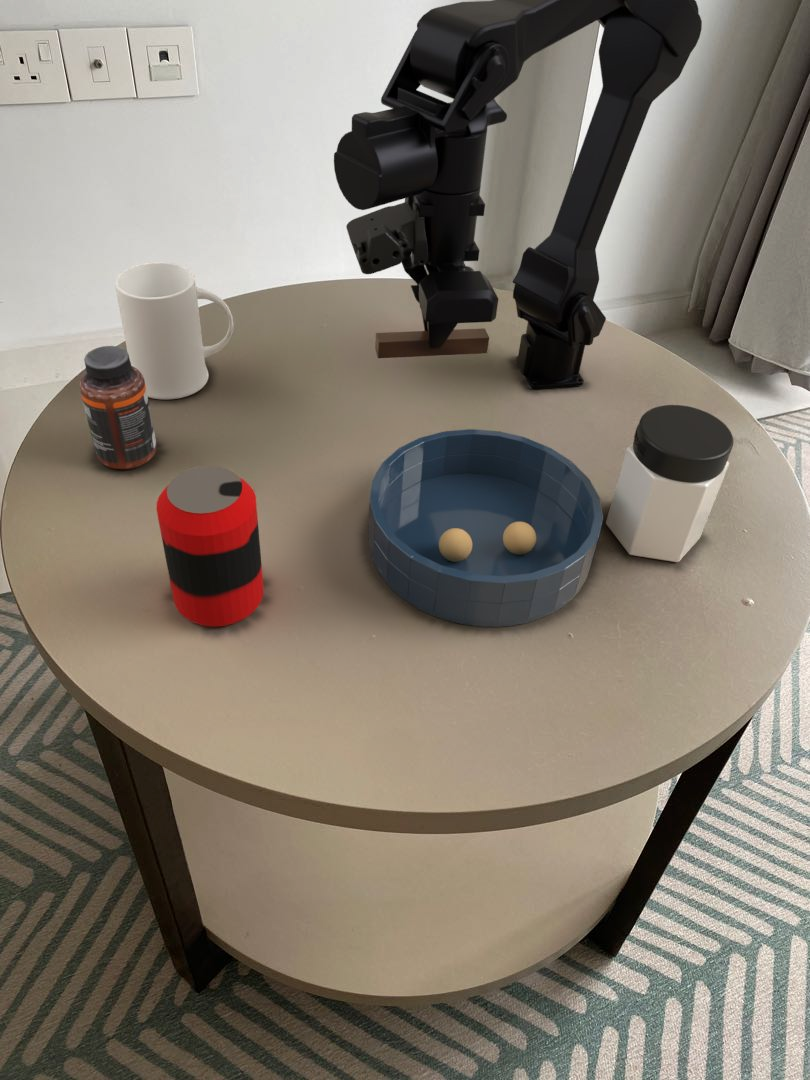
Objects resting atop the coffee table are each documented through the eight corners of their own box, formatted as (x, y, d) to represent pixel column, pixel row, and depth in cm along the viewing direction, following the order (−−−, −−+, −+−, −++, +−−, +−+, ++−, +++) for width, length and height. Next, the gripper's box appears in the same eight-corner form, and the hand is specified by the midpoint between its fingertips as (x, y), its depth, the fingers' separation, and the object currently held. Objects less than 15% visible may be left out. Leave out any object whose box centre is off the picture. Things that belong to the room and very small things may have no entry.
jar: (637, 490, 88) (668, 390, 80) (711, 528, 84) (751, 428, 76) (591, 534, 83) (619, 433, 75) (667, 577, 79) (706, 474, 71)
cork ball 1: (465, 543, 80) (469, 519, 78) (474, 566, 78) (477, 542, 76) (434, 547, 80) (436, 523, 77) (441, 570, 77) (444, 546, 75)
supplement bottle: (168, 444, 89) (152, 347, 82) (137, 478, 85) (117, 380, 77) (117, 430, 91) (97, 334, 83) (84, 463, 86) (59, 365, 79)
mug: (240, 358, 102) (231, 261, 93) (235, 400, 96) (226, 300, 87) (136, 358, 101) (119, 259, 92) (125, 400, 94) (105, 299, 86)
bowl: (548, 465, 90) (557, 421, 86) (624, 611, 76) (639, 567, 72) (352, 482, 86) (352, 438, 83) (392, 641, 72) (395, 595, 68)
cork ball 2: (527, 537, 81) (532, 513, 79) (537, 559, 79) (543, 535, 77) (496, 540, 81) (501, 516, 79) (506, 563, 79) (510, 539, 76)
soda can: (262, 628, 72) (252, 521, 64) (169, 630, 71) (147, 522, 63) (265, 563, 78) (257, 457, 69) (179, 565, 77) (160, 458, 69)
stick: (482, 344, 88) (484, 328, 86) (487, 353, 86) (489, 337, 85) (375, 348, 86) (375, 332, 85) (377, 358, 84) (378, 342, 83)
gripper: (340, 143, 80) (339, 298, 91) (371, 230, 67) (365, 400, 77) (458, 142, 82) (443, 295, 93) (511, 227, 69) (486, 394, 79)
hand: (433, 342), depth 85 cm, fingers closed on stick, 2 cm apart
